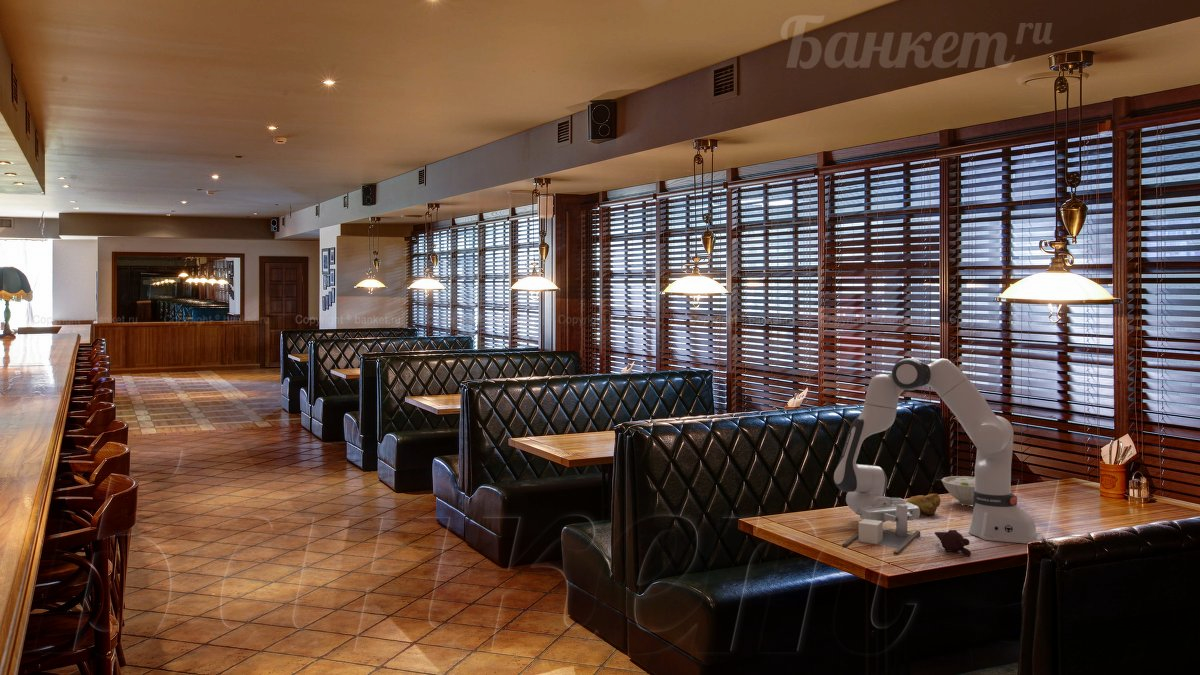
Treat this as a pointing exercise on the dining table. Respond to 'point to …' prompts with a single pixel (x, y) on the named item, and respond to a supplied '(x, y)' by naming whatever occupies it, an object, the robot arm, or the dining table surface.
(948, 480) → the bowl
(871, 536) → the block
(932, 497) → the bread roll
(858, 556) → the dining table surface
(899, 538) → the board
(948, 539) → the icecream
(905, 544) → the rails
